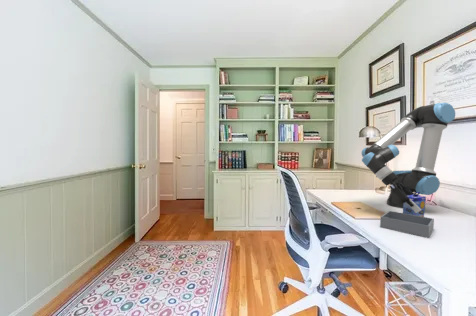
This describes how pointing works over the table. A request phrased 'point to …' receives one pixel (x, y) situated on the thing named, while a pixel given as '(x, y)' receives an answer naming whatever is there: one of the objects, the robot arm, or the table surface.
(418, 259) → the table surface
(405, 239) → the table surface
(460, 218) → the table surface
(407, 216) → the box
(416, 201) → the ink cartridge box
